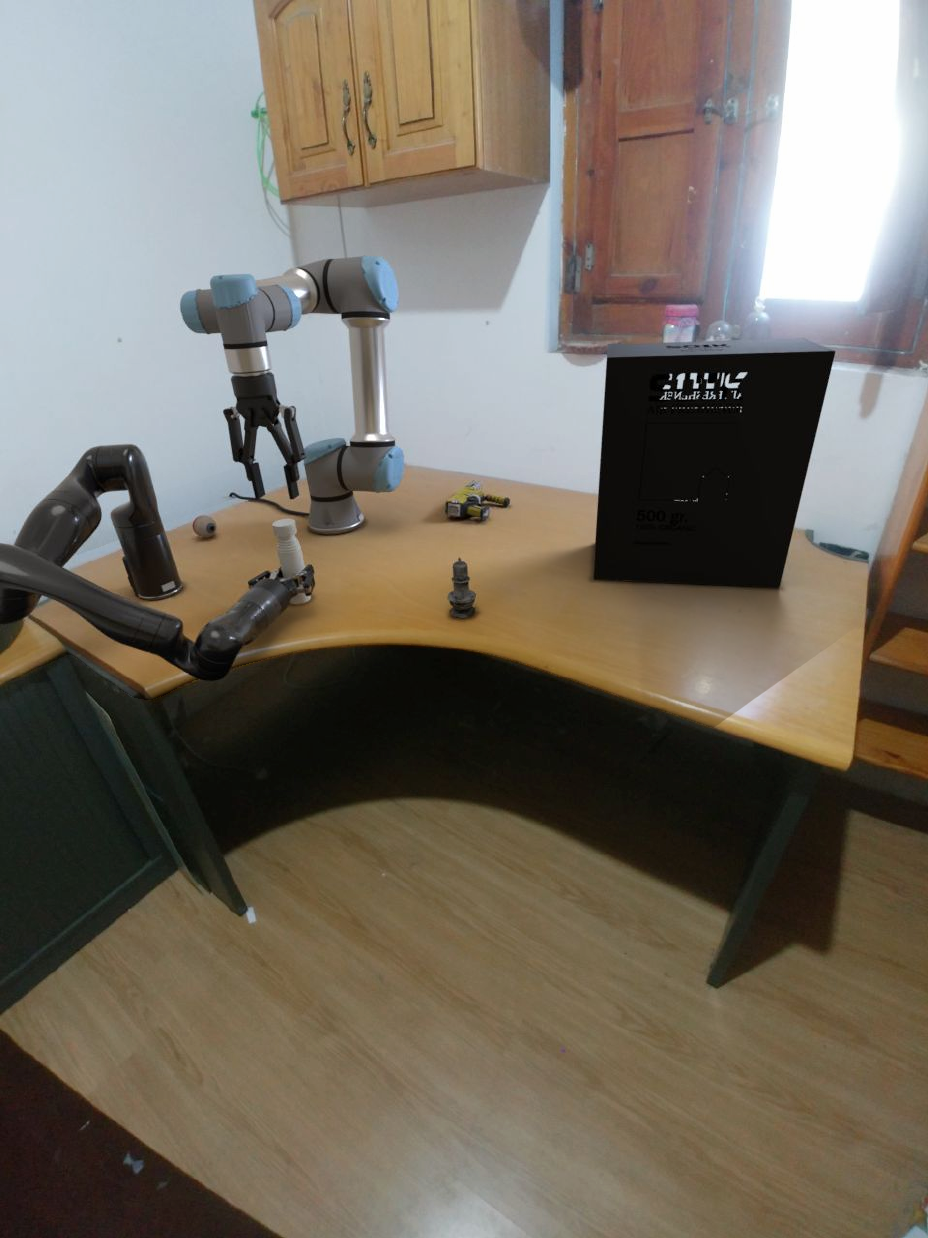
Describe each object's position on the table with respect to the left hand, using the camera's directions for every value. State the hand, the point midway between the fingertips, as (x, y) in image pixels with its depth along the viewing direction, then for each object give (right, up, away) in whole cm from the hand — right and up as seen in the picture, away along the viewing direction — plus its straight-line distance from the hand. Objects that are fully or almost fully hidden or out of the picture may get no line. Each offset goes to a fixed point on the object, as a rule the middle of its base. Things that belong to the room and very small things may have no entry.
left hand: (299, 567), depth 130 cm
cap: (-1, +8, -8) cm, 11 cm away
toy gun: (+41, +21, +45) cm, 65 cm away
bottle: (0, -7, +1) cm, 7 cm away
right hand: (-2, +13, -11) cm, 17 cm away
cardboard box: (+84, +1, +6) cm, 85 cm away
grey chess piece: (+35, -10, -8) cm, 37 cm away
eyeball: (-35, +11, +36) cm, 52 cm away
